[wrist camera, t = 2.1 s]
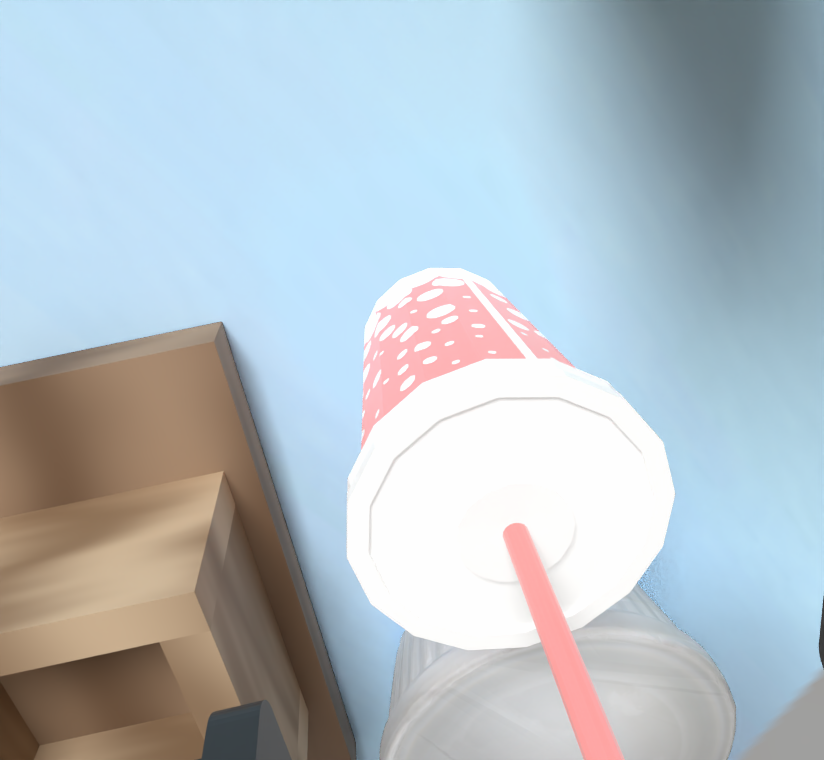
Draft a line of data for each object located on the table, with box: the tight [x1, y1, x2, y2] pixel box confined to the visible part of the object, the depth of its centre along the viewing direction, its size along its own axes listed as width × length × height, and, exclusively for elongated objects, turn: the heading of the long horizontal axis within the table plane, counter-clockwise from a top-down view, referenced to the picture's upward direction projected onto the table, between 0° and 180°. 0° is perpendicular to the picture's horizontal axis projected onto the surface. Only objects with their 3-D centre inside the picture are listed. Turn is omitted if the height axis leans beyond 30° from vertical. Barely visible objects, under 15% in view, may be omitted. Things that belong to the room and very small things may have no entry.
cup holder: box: [0, 322, 356, 760], centre depth 21 cm, size 12×18×6 cm, turn 10°
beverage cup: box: [347, 268, 675, 760], centre depth 15 cm, size 6×6×14 cm
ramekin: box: [380, 583, 736, 760], centre depth 24 cm, size 11×11×5 cm
